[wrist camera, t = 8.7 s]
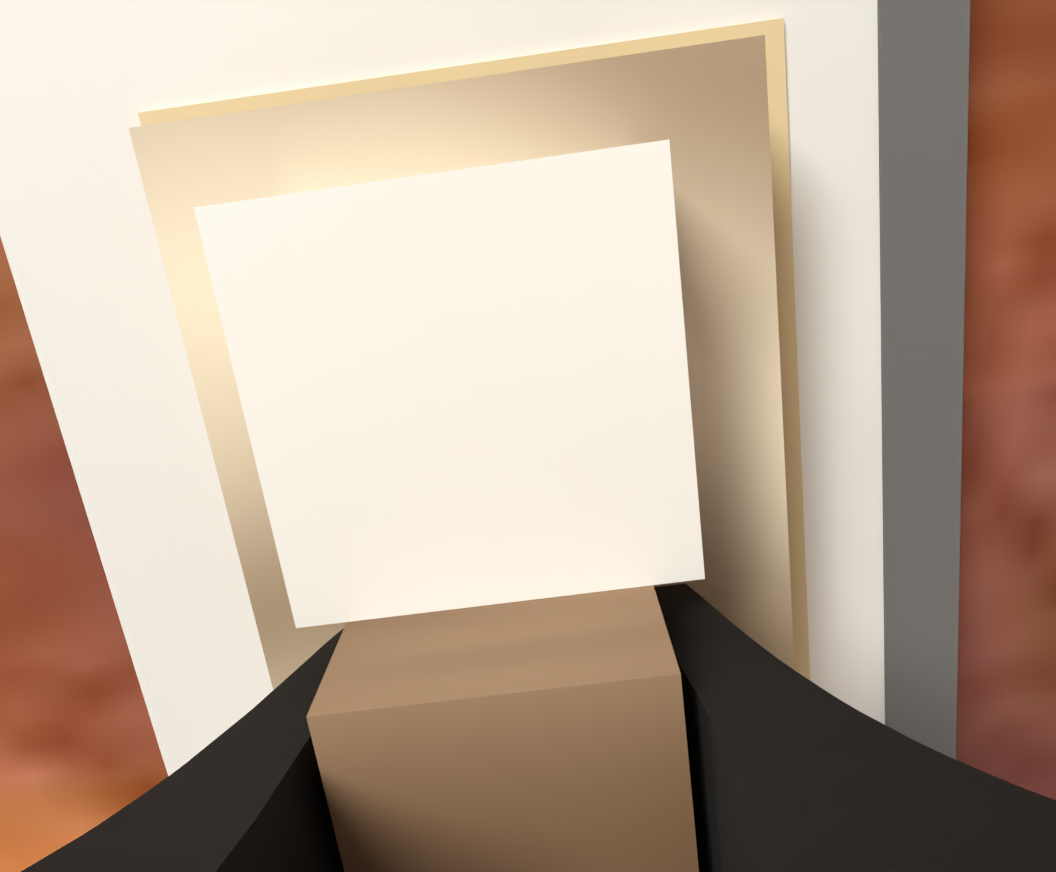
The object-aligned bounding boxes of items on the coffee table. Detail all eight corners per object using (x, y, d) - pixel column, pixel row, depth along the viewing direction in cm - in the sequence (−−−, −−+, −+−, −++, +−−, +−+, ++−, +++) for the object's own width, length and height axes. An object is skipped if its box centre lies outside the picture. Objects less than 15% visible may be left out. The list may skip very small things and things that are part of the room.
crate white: (664, 488, 10) (704, 579, 8) (349, 527, 10) (295, 628, 8) (632, 152, 9) (669, 138, 7) (280, 202, 9) (192, 207, 7)
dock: (895, 873, 18) (951, 980, 16) (286, 938, 19) (250, 1050, 17) (888, -148, 13) (974, -229, 10) (19, -15, 13) (-97, -61, 11)
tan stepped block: (774, 907, 15) (930, 1370, 9) (388, 946, 15) (300, 1420, 9) (723, 62, 11) (948, -86, 5) (199, 138, 11) (-167, 82, 5)
